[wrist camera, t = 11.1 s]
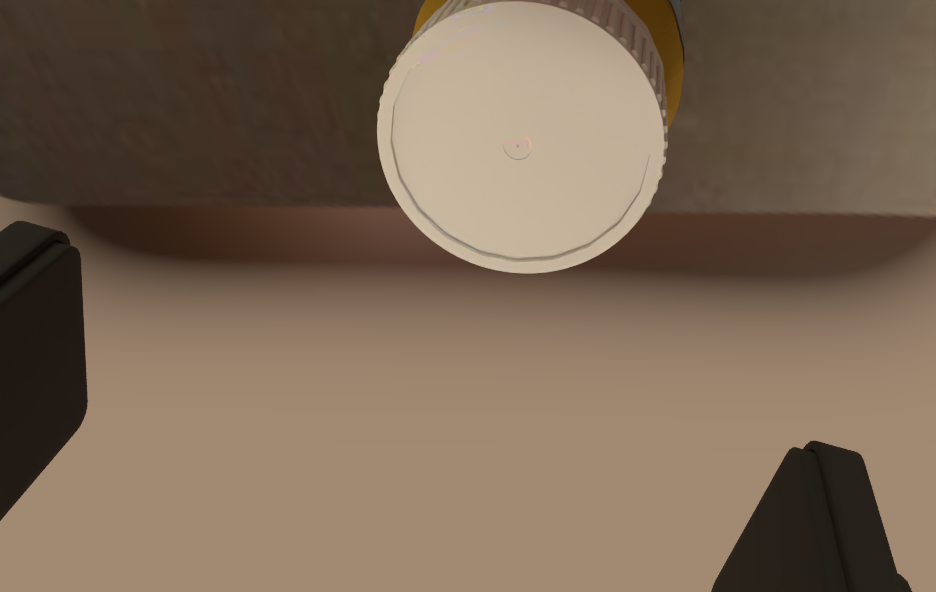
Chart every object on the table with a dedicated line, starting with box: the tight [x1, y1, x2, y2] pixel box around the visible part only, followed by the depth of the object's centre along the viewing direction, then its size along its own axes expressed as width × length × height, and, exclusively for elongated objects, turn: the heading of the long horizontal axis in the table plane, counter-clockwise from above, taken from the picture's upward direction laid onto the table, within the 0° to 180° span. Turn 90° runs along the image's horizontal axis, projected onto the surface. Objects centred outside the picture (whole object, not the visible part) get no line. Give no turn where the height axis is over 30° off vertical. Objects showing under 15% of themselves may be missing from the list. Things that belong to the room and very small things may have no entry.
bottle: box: [377, 0, 684, 273], centre depth 25 cm, size 7×7×15 cm
